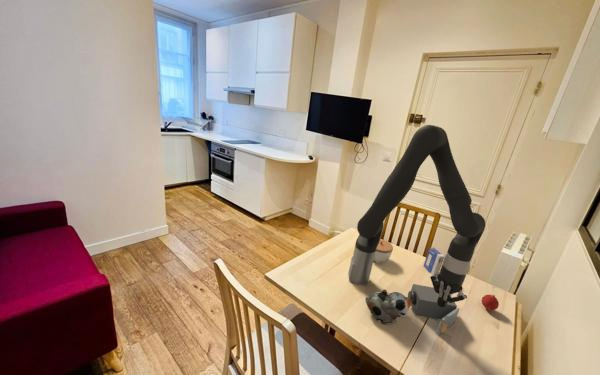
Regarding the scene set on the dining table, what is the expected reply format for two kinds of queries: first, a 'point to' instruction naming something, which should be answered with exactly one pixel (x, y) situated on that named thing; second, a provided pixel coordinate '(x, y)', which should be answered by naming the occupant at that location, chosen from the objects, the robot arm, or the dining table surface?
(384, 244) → the lidded bowl
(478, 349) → the dining table surface
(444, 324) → the door
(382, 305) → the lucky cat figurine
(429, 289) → the camera housing
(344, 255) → the dining table surface
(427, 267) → the walkman
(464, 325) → the dining table surface
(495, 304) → the red bumpy ovoid
